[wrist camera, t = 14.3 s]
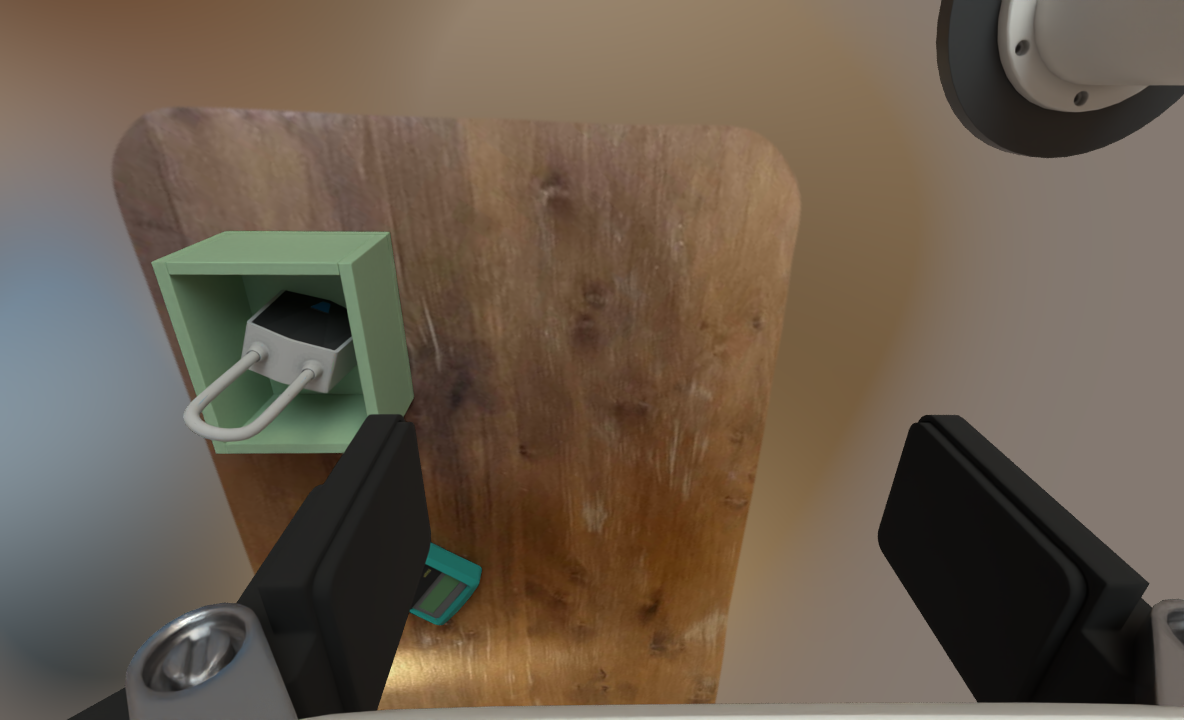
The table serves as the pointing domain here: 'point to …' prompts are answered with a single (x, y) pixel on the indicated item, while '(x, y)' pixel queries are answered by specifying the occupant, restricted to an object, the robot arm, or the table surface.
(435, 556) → the digital multimeter
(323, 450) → the holder
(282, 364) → the padlock
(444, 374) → the table surface
